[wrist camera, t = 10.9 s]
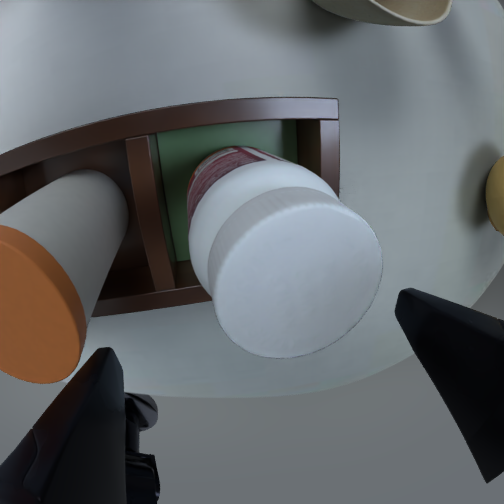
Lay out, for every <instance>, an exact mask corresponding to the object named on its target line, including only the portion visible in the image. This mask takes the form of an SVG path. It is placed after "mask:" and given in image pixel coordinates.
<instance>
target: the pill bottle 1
mask: <svg viewBox="0 0 504 504" xmlns="http://www.w3.org/2000/svg"><path fill="white" fill-rule="evenodd" d="M128 221H129V212H128V206H127V202H126V199H125V197H124V195H123V193H122V191H121V189H120V188H119V187H118V185H117V184H116V183H115V182H114V181H113V180H112V179H111V178H109V177H108V176H106V175H105V174H103V173H101V172H98V171H95V170H90V169H80V170H75V171H72V172H70V173H68V174H66V175H64V176H62V177H61V178H59V179H57V180H55V181H53V182H51V183H50V184H48V185H46V186H44V187H43V188H41V189H39V190H38V191H36V192H34V193H32V194H31V195H29V196H28V197H26V198H24V199H23V200H21V201H20V202H18V203H16V204H15V205H13V206H12V207H10V208H9V209H7V210H6V211H4V212H3V213H1V214H0V370H2V371H3V372H5V373H7V374H9V375H11V376H13V377H15V378H18V379H21V380H24V381H27V382H32V383H40V384H46V383H54V382H58V381H61V380H63V379H65V378H66V377H68V376H69V375H70V374H71V373H72V372H73V371H74V370H75V368H76V367H77V365H78V363H79V360H80V357H81V354H82V351H83V347H84V344H85V340H86V331H87V327H88V324H89V321H90V318H91V315H92V313H93V310H94V307H95V304H96V302H97V299H98V297H99V294H100V291H101V289H102V286H103V284H104V282H105V279H106V277H107V274H108V272H109V269H110V267H111V265H112V263H113V260H114V258H115V256H116V253H117V251H118V249H119V247H120V245H121V242H122V240H123V238H124V236H125V233H126V231H127V227H128Z"/></svg>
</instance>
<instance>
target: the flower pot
mask: <svg viewBox="0 0 504 504" xmlns="http://www.w3.org/2000/svg"><path fill="white" fill-rule="evenodd" d="M312 1H313V2H314V3H315V4H317V5H318V6H320V7H321V8H323V9H325V10H327V11H329V12H331V13H334V14H336V15H339V16H342V17H345V18H348V19H352V20H357V21H361V22H366V23H372V24H380V25H391V26H426V25H434V24H437V23H440V22H441V21H443V20H444V19H445V18H446V17H447V16H448V14H449V13H450V10H451V7H452V0H312Z"/></svg>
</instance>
